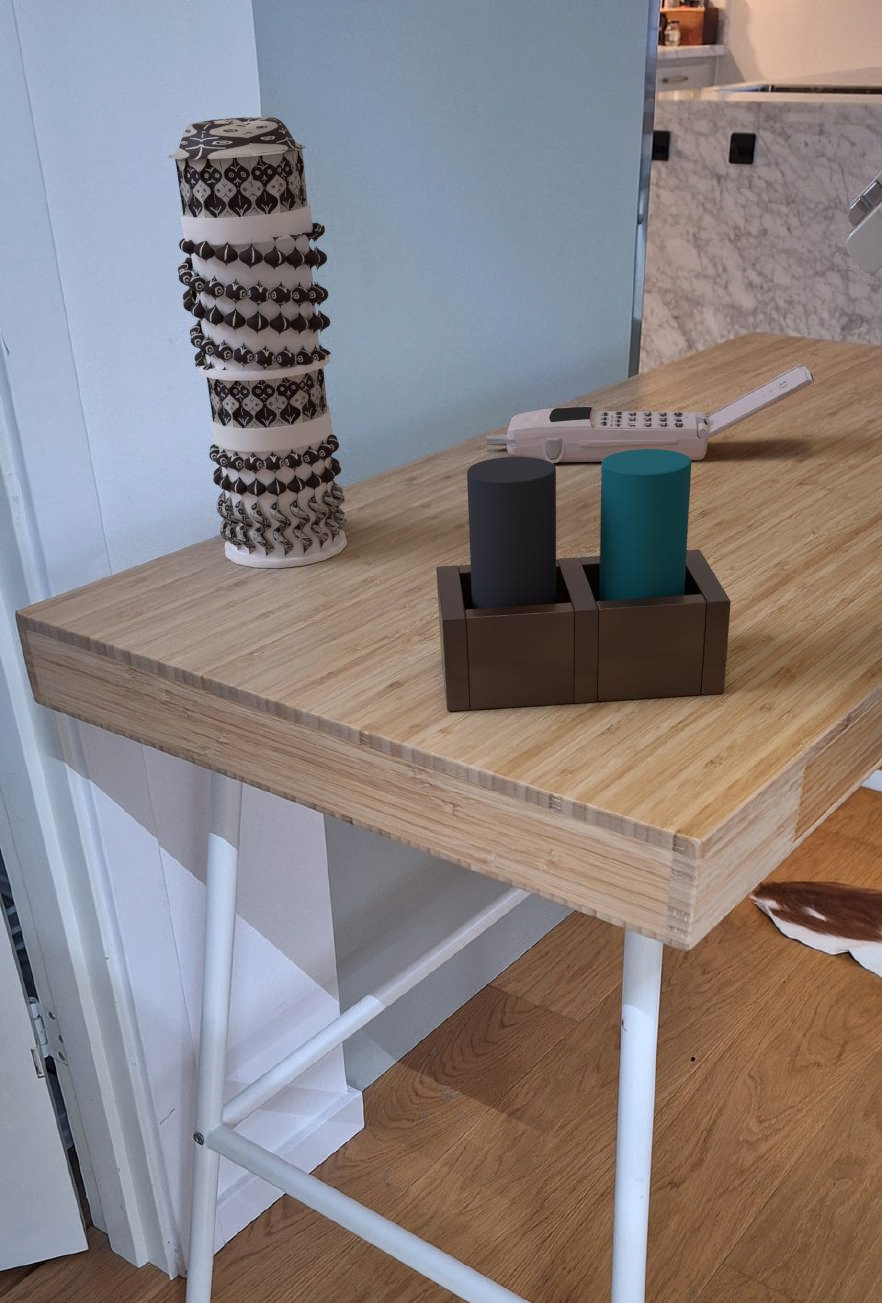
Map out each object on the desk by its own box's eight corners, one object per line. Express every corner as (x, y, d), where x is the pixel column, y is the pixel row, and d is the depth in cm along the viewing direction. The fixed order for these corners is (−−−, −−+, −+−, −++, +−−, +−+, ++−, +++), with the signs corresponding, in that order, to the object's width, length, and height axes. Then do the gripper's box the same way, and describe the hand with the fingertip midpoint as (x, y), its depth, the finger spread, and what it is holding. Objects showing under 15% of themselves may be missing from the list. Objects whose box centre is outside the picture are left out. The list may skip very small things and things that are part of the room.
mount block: (694, 636, 76) (700, 548, 73) (724, 693, 70) (731, 600, 67) (440, 652, 76) (436, 566, 73) (447, 712, 70) (442, 619, 67)
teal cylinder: (672, 651, 75) (682, 446, 68) (687, 683, 71) (699, 470, 65) (592, 656, 75) (595, 451, 68) (604, 689, 71) (608, 476, 65)
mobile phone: (817, 379, 99) (478, 386, 102) (808, 462, 102) (481, 466, 106) (808, 362, 104) (486, 369, 107) (800, 442, 107) (488, 446, 110)
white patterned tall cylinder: (371, 555, 90) (334, 117, 76) (236, 579, 88) (171, 131, 73) (332, 518, 97) (292, 110, 83) (206, 538, 95) (142, 123, 80)
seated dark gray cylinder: (551, 657, 75) (550, 453, 68) (560, 690, 71) (560, 478, 65) (472, 662, 75) (464, 459, 68) (477, 696, 71) (469, 484, 65)
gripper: (1068, -108, 59) (815, 161, 67) (1145, -142, 43) (799, 217, 51) (1155, 9, 60) (897, 259, 68) (1260, 19, 44) (907, 344, 52)
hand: (855, 242), depth 59 cm, fingers open, 8 cm apart
